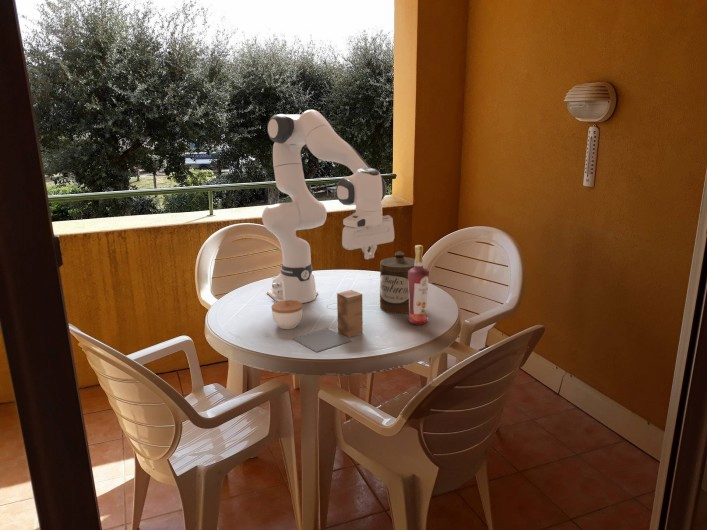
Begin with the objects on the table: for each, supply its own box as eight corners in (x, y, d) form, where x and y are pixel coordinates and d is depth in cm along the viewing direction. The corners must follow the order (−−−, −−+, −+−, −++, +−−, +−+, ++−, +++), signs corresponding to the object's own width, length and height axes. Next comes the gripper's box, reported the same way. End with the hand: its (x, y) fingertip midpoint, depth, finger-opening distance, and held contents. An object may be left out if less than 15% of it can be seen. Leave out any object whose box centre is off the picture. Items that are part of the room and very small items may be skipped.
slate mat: (292, 338, 185) (292, 338, 185) (326, 328, 193) (326, 327, 193) (316, 352, 174) (316, 351, 174) (351, 341, 183) (351, 340, 183)
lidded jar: (288, 318, 204) (287, 293, 201) (309, 324, 197) (308, 299, 194) (266, 326, 196) (264, 301, 193) (287, 334, 189) (286, 308, 186)
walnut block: (337, 332, 190) (337, 293, 186) (352, 327, 194) (351, 289, 190) (348, 337, 185) (348, 297, 182) (363, 333, 189) (362, 293, 185)
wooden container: (373, 310, 210) (373, 254, 204) (388, 299, 223) (388, 245, 217) (411, 316, 204) (412, 258, 198) (423, 303, 217) (425, 249, 211)
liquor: (416, 328, 193) (418, 249, 185) (402, 322, 198) (403, 245, 191) (432, 323, 197) (434, 246, 189) (418, 317, 203) (419, 242, 195)
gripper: (386, 213, 193) (386, 251, 196) (338, 220, 181) (339, 261, 184) (398, 215, 188) (398, 255, 192) (350, 223, 176) (351, 265, 180)
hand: (369, 258), depth 188 cm, fingers closed
